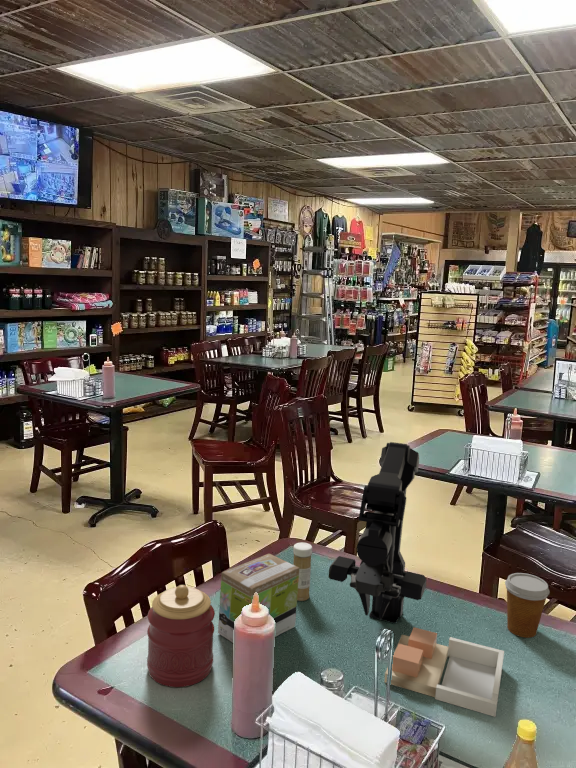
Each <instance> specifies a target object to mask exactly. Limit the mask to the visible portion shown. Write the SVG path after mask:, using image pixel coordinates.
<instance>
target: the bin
mask: <svg viewBox="0 0 576 768" xmlns="http://www.w3.org/2000/svg"><path fill="white" fill-rule="evenodd" d="M447 647H448V656H447V658H449V659H448V661H447V665H446V669H445V670H444V676H443V677H442V678H443V679H442V682H441V684H439V685H438V684H437V686H436V695H435V697H434V699H435V700H436V701H441V702H444V703H448V704H450V705H453V706H454V705H455V706H457V707H461V708H464V709H468V710H471V711H473V712H478V713H479V714H484V715H488V716H492V717H494V718H496V716H497V708H498V701H499V693H500V687H501V681H502V680H501V679H502V673H503V663H504V656H505V650H501V649H498V648H494V647H490V646H487V645H486V646H485V645H483V644H479V643H474V642H471V641H467V640H463V639H459V638H455V637H453V636H452V637H451V636H450V637H449V639H448V646H447Z"/></svg>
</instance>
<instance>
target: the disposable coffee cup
mask: <svg viewBox="0 0 576 768" xmlns="http://www.w3.org/2000/svg"><path fill="white" fill-rule="evenodd" d="M504 585H505V589H506V606H507V607H506V615H507V618H506V619H507V620H506V621H507V622H506V624H507V630H508V631H509V632H510V633H512V634H513V635H515V636H517V637H520V638H525V639H526V638H530V639H531V638H533V637H535V636H536V635H537V632H538V628H539V625H540V622H541V619H542V614H543V612H544V611H543V610H544V608H545V605H546V600H547V598H548V596H550V593H551V592H550V591H551V590H550V589H549V584H548V583H547V581H545V580H544V579H542V578H540V577H539V576H536V575H534V574H531V573H530V574H529V573H523V572H515V573H511V574H509V575H508V576H507V579H506V580H505V582H504Z"/></svg>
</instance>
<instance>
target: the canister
mask: <svg viewBox="0 0 576 768" xmlns="http://www.w3.org/2000/svg"><path fill="white" fill-rule="evenodd" d="M211 601H212V600H211V598H210V597H209V595H208V594H207V593H205V592H204V591H202V590H199V589H198V588H195V587H192V586H188V585H185V584H179V585H178V586H173V587H170V588H169V589H168V588H167V589H166V590H164V591H163V592H161V593H159V594H157V595H156V596H155V597H154V598H153V600H152V602H151V603H152V604H151V607H150V608H149V610H148V613H147V621H148V622H149V625H148V628H147V637H148V639H147V641H148V643H147V657H146V661H147V663H146V666H147V669H148V670H147V671H148V674H149V676H150V678H151V679H152V680H153V681H154V682H156V683H158V684H159V685H162V686H166V687H171V688H183V687H189V686H192V685H196V684H198V683H200V682H202V681H203V680H204V679H206V678H207V677H208V675H209V674H210V673H211V671H212V668H213V663H214V652H213V650H214V647H213V646H214V633H215V625H214V622H213V620H214V619H215V616H216V615H215V614H216V613H215V612H216V611H215V608H214V606H212V602H211Z"/></svg>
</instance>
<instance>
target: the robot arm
mask: <svg viewBox="0 0 576 768" xmlns="http://www.w3.org/2000/svg"><path fill="white" fill-rule="evenodd" d="M379 465H380V470H379V472H378V474H375V475H372V476H371V477H370V479H369V481H368V482H367V485H366V484H365V485H364V487H363V492H362V497H361V503H360V507H359V514H358V521H360V522H365V528H364V530H363V532H362V534H361V536H360V538H359V540H358V542H357V545H356V554H357V557H358V558H359V560H360V561H361V562H360V564H359V566H356V560H355V559H354V558H351V557H350V558H349V557H346V556H340V555H339V556H337V557H336V558H335V559H334V560H333V562H332V563H331V564H330V566H329V569H328V579H330V580H333V581H337V582H340V583H342V582H344V581H346V580H347V579H348V576H350V578H351V579H350V583H349V587H351V588H353V589H354V590H355V591H356V593H358V596H359V598H360V601H361V604H362V605H361V606H362V609H363V611H364V614H365V615H364V616H368V615H369V617H370V618H373V619H376V620H380V621H384V622H389V623H392V624H397V622H399V619H400V618H401V616H402V615H403V613H404V604H405V602H404V601H405V598H407V599H412V600H416V601H420V600H422V598H423V596H424V592H425V591H426V588H427V578H426V577H425V575H423V574H420V573H416V572H412V571H405V570H406V568H405V567H406V561H405V559H404V557H403V554H402V553H401V544H402V534H403V533H402V532H403V523H404V516H405V510H406V505H407V488H408V487H409V486H410V484H412V482H413V480H414V479H415V477H416V476H415V475H416V473H418V472H419V465H420V455H419V452H418V451H416V450H414V449H413V448H411V445H408V444H407V443H400V442H393V441H390V442H387V443H386V445H385V446H383V447H382V449H381V454H380V460H379ZM366 510H367V511H366ZM370 511H372V512H370ZM371 597H372V600H371ZM370 606H371V611H370Z"/></svg>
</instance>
